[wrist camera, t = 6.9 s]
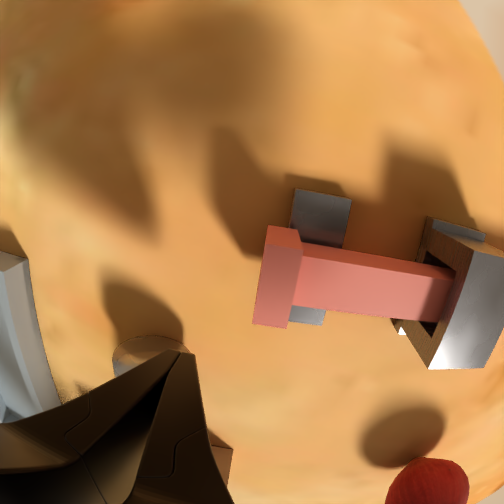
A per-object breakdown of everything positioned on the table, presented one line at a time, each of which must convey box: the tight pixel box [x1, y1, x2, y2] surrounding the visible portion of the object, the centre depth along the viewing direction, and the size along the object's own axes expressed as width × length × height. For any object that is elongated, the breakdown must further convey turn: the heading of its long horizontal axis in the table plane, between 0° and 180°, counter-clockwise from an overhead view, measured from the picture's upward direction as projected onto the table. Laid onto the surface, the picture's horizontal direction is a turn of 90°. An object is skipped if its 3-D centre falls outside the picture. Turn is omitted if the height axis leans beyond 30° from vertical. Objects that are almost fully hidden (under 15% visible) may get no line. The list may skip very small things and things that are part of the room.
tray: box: [0, 251, 61, 423], centre depth 14 cm, size 17×9×2 cm, turn 172°
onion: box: [385, 457, 469, 504], centre depth 11 cm, size 6×6×8 cm
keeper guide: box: [288, 188, 504, 369], centre depth 10 cm, size 5×8×4 cm, turn 82°
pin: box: [112, 336, 190, 378], centre depth 13 cm, size 12×3×3 cm, turn 172°
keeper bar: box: [252, 225, 457, 329], centre depth 9 cm, size 2×16×2 cm, turn 82°
